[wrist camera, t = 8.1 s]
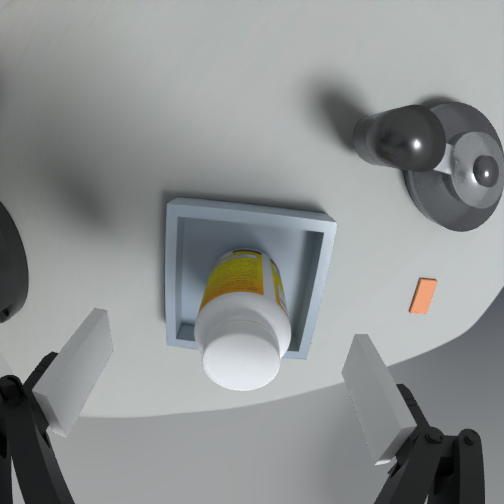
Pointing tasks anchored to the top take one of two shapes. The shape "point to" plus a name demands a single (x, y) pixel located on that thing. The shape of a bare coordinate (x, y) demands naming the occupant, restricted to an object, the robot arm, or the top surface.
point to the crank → (433, 152)
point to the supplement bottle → (243, 321)
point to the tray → (253, 237)
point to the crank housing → (432, 183)
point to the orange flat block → (423, 296)
